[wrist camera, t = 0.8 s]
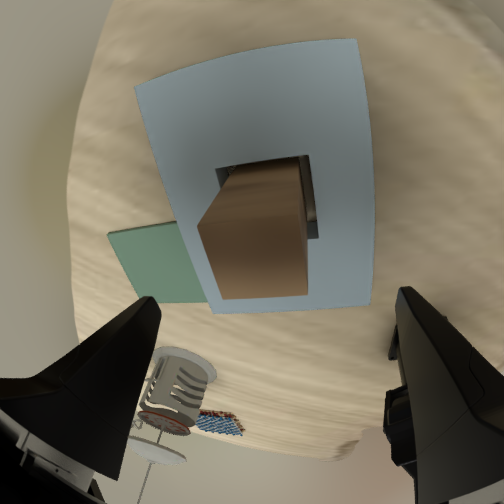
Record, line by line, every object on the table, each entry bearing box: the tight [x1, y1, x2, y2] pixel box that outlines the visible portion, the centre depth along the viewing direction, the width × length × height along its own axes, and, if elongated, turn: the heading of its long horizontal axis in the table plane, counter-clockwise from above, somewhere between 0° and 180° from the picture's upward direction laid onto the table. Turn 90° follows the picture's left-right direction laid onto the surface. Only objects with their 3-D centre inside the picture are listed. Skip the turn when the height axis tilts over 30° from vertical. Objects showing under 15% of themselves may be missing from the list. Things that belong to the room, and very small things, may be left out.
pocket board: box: [134, 39, 375, 314], centre depth 19 cm, size 20×14×2 cm
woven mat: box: [196, 409, 245, 436], centre depth 48 cm, size 10×11×2 cm
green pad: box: [107, 222, 208, 303], centre depth 26 cm, size 9×9×1 cm
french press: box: [127, 347, 217, 504], centre depth 27 cm, size 10×12×25 cm
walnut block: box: [197, 157, 308, 300], centre depth 17 cm, size 4×4×9 cm
